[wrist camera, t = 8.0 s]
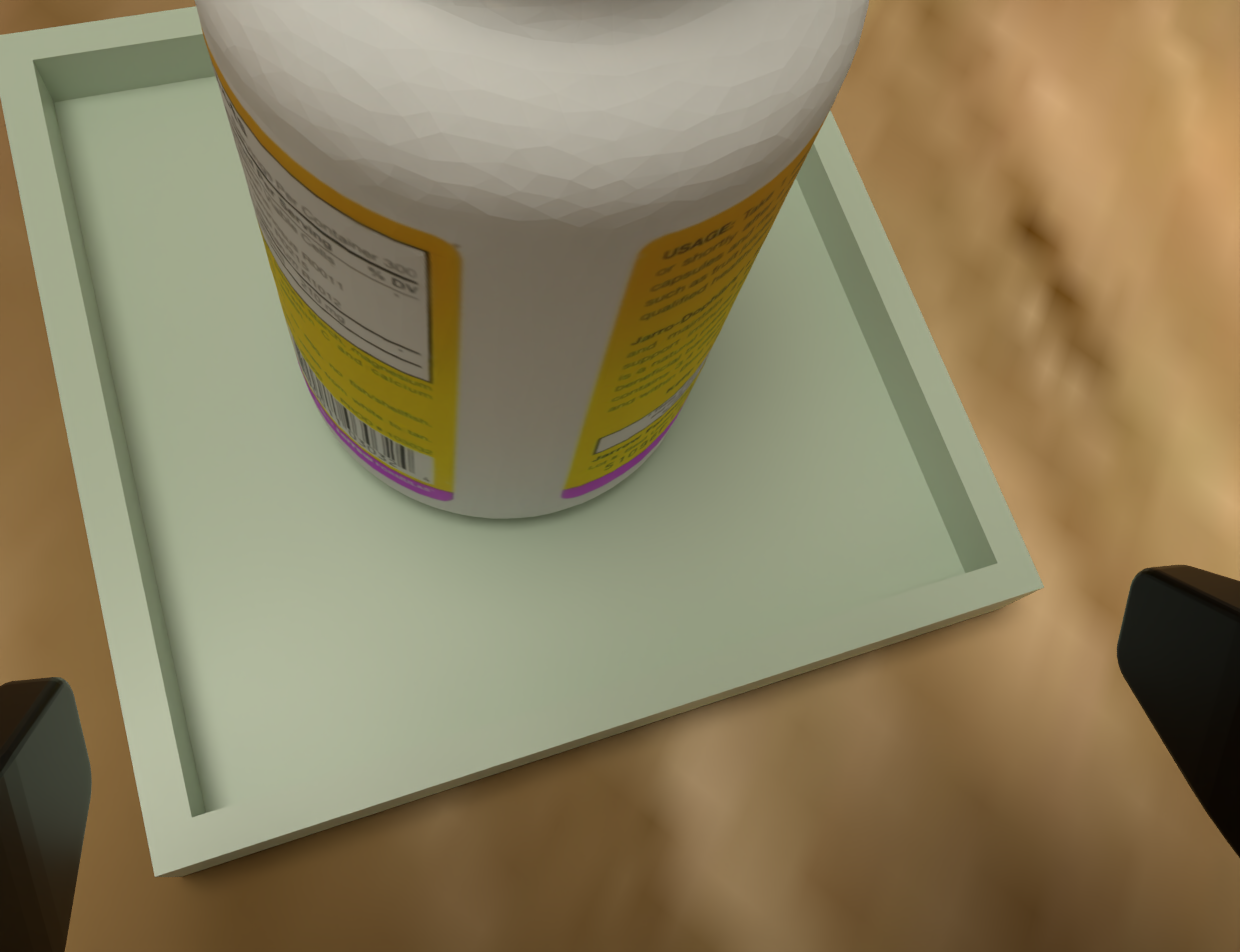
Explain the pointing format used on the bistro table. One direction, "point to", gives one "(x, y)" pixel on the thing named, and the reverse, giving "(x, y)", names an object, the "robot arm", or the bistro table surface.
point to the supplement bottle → (517, 215)
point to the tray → (437, 539)
